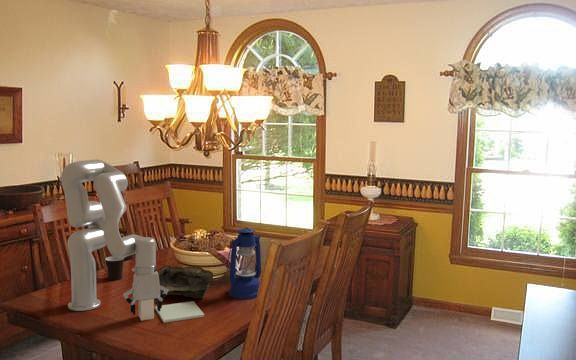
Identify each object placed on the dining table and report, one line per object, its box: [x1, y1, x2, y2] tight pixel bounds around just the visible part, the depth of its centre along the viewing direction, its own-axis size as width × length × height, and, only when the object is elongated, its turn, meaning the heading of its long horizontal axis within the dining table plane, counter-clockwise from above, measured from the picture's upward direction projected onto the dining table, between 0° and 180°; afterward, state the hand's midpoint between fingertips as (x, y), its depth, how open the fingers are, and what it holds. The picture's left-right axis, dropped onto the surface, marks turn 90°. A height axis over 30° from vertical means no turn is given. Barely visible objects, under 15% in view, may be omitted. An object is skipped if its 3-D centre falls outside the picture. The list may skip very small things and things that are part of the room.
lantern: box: [226, 227, 262, 300], centre depth 236 cm, size 17×15×30 cm
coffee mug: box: [105, 255, 125, 282], centre depth 255 cm, size 12×9×10 cm
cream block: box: [138, 299, 155, 322], centre depth 207 cm, size 5×5×8 cm
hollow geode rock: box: [157, 265, 214, 300], centre depth 232 cm, size 28×13×15 cm
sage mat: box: [154, 300, 205, 324], centre depth 213 cm, size 16×16×1 cm
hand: (146, 312), depth 207 cm, fingers open, 9 cm apart
